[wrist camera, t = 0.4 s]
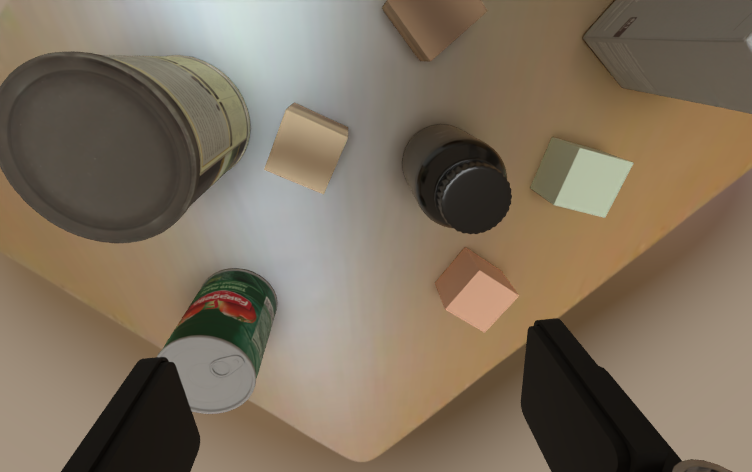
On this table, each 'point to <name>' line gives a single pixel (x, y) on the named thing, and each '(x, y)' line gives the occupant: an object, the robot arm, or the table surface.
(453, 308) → the terracotta painted cube
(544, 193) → the sage painted cube
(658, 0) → the skincare box
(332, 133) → the maple cube
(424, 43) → the walnut cube
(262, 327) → the canned tomato
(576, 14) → the table surface
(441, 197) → the supplement bottle
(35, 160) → the coffee can
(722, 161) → the table surface
